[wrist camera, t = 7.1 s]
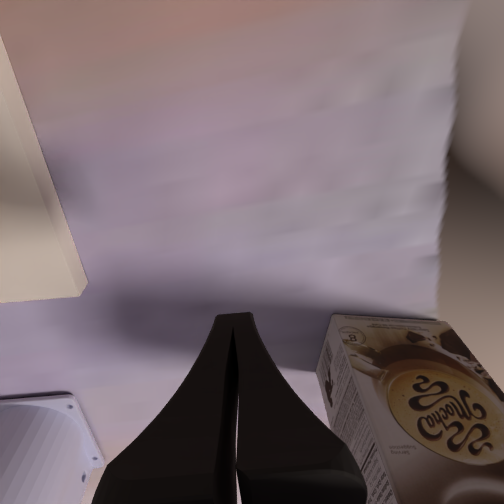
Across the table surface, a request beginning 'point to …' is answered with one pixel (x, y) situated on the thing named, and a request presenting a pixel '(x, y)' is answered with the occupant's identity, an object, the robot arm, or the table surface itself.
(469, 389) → the coffee box
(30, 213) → the shaft housing
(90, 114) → the table surface
